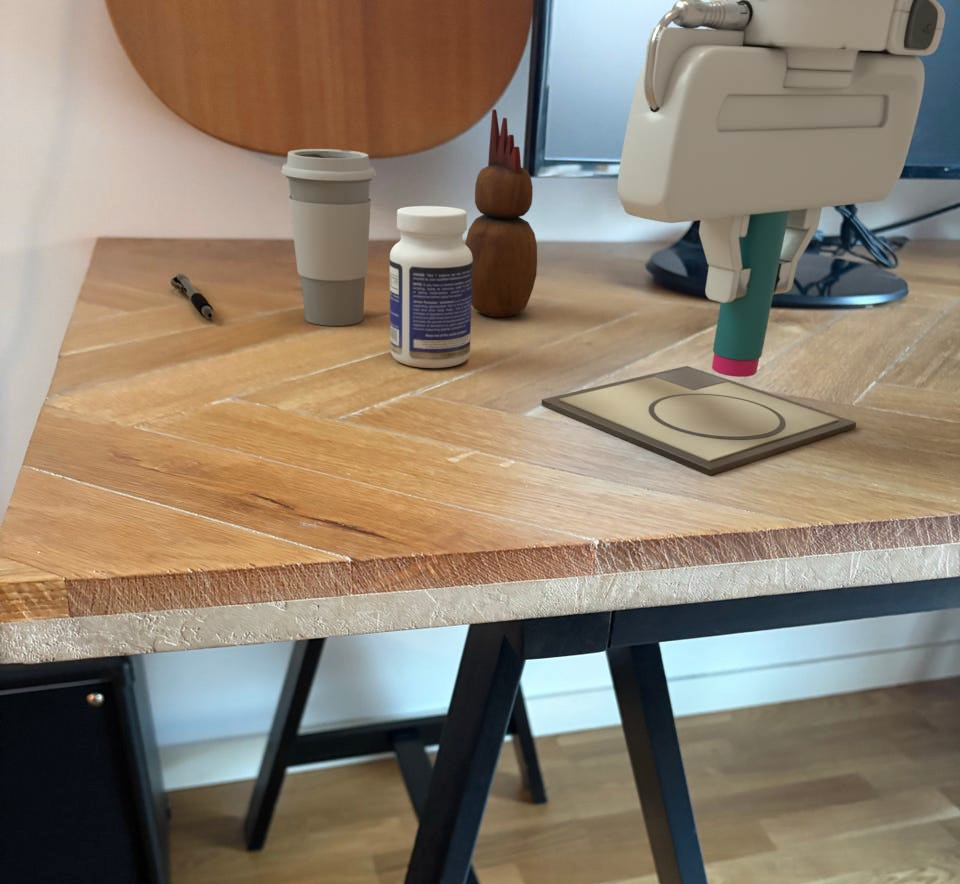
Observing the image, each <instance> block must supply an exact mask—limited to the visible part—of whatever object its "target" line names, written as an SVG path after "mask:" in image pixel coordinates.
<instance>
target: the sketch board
mask: <svg viewBox="0 0 960 884" xmlns="http://www.w3.org/2000/svg"><path fill="white" fill-rule="evenodd" d="M540 404H541V406H543V407H545V408H548V409H550V410H553V411H555V412H558V413H559V414H562V415H564V416H567V417H570V418H571V419H574V420H576V421H579V422H581V423H583V424H586V425H588V426H590V427H593V428H595V429H598V430H600V431H603V432H605V433H608V434H610V435H612V436H614V437H617V438H619V439H621V440H624V441H627V442H629V443H631V444H634V445H636V446H639V447H641V448H643V449H646V450H648V451H650V452H653V453H656V454H658V455H660V456H663V457H665V458H667V459H670V460H671V461H674V462H677V463H680V464H682V465H684V466H686V467H689V468H691V469H693V470H695V471H698V472H701V473H703V474H705V475H707V476H713V475H716V474H717V475H718V474H720V473H723V472H726V471H729V470H732V469H734V468H738V467H741V466H744V465H747V464H751V463H753V462H757V461H760V460H763V459H764V458H765V459H766V458H768V457H771V456H776V455H777V454H780V453H783V452H787V451H789V450H792V449H796V448H799V447H802V446H805V445H808V444H812V443H814V442H818V441H821V440H824V439H826V438H829V437H832V436H836V435H839V434H842V433H844V432H848V431H850V430H854V429H856V427H857V421H854V420H852V419H848V418H845V417H842V416H839V415H837V414H833V413H830V412H828V411H824V410H821V409H818V408H815V407H812V406H809V405H806V404H804V403H800V402H797V401H794V400H791V399H788V398H784V397H782V396H778V395H776V394H773V393H771V392H766V391H764V390H761V389H758V388H754V387H752V386H749V385H746V384H743V383H739V382H737V381H733V380H731V379H729V378H725V377H721V376H719V375H716V374H712V373H710V372H707V371H704V370H701V369H698V368H696V367H695V368H694V367H691V366H689V365H684V366H679V367H676V368H672V369H667V370H664V371H659V372H654V373H650V374H645V375H641V376H636V377H633V378H628V379H624V380H618V381H614V382H610V383H607V384H601V385H598V386H594V387H593V386H592V387H590V388H584V389H580V390H576V391H572V392H571V391H570V392H567V393H563V394H558V395H554V396H550V397H545V398H541V403H540Z"/></svg>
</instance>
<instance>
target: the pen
mask: <svg viewBox="0 0 960 884" xmlns="http://www.w3.org/2000/svg"><path fill="white" fill-rule="evenodd" d="M170 286H171V287H173V288H174V289H176V290H180V293H183V294H184V293H185V294H186V296H187V297H188V298H189V300H190V302H191V304H192V305H193V307H194V308H195V310H196V311H197V312H198V313H199V315H200V316H201V317H203V318H206V319H211V318H212V317H213V316H214V308H213V306H212V305H211V304H210V302H209V301H208V300H207V297H205V296H204V295H203V294H202V293H200V292H199V290H197V288H196V287H195V286H194V285H193V283H192V282H191V281H190V279H189V278H188V276H187V275H186V274H185V273H177V274H176V275H175V276H174V277H172V278H171V279H170Z"/></svg>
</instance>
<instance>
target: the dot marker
mask: <svg viewBox="0 0 960 884" xmlns="http://www.w3.org/2000/svg"><path fill="white" fill-rule="evenodd" d="M788 215H789V211H782V212H773V213H763V214H754V215H750V218H749V224H748V229H747V234H746V236H745V237H739V244H740V252H741V260H742V266H744V267H748V268H751V273H750V279H749V282H748V284H747V289H748V290H747V295H746V296H745V298H744V299H741V300H737V301H732V302H728V303H721V302H720V304H719V311H718V316H717V324H716V328H715V334H714V341H713V347H712V352H713V358H712V363H711V369H712V370H713V371H714V372H716V373H718V374H720V375H724V376H729V377H734V378H746V377H751V376H752V377H753V376H755V375H756V374H757V372H758V367H759V361H760V358H761V357H762V355H763V350H764V345H765V339H766V335H767V330H768V325H769V324H768V323H769V319H770V315H771V309H772V304H773V298H774V294H773V293H774V288H775V283H776V277H777V272H778V267H779V262H780V256H781V251H782V246H783V241H784V236H785V230H786V225H787V220H788Z"/></svg>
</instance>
